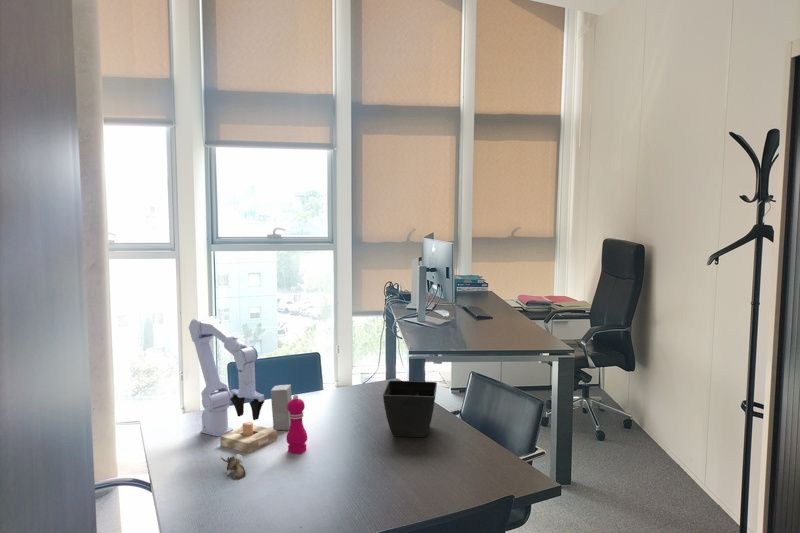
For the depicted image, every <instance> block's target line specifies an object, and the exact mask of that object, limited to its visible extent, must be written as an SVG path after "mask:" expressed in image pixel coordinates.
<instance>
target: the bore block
mask: <svg viewBox="0 0 800 533" xmlns="http://www.w3.org/2000/svg"><path fill="white" fill-rule="evenodd" d="M219 437H220V438H219V439H220V446H221V447H225V448H229V449H232V450H235V451H240V452H244V453H246V454H251V453H253V452H255V451H257V450H259V449H261V448H262V447H265V446H267V445H269V444H271V443H272V442H273V443H274V442H275V441H277V440H278V430H274V428H273V429H272V428H269V427H264V426H260V425H256V424H253V435H252V436H249V437H248V436H244V435H243V425H242V426H240V427H238V428H235V429H233V430H232V431H230V432H227V433H225V434H223V435H220V436H219ZM276 439H277V440H276ZM274 440H275V441H274ZM270 442H271V443H270Z"/></svg>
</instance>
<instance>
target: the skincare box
mask: <svg viewBox="0 0 800 533" xmlns="http://www.w3.org/2000/svg"><path fill="white" fill-rule="evenodd" d="M292 399H293V396H292V385H291V384H277V385H274V386H273V387H272V388H271V390H270V400H271V401H270V402H271V412H272V426H273V430H277V431H279V430H280V431H289V428H290V422H291V421H290V418H289V413H290V412H289V411H288V409H287V405H288V402H289V401H290V400H292Z"/></svg>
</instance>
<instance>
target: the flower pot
mask: <svg viewBox="0 0 800 533" xmlns="http://www.w3.org/2000/svg"><path fill="white" fill-rule="evenodd" d="M437 386H438V383H437V382H436V381H420V380H418V381H415V380H413V381H411V380H389V381H388V382H387V384H386V387H385V389H384V391H383V394H382V398H383V404H384V411H385V417H386V420H387V424H388V427H389V430H390V433H391V435H392V436H393V437H404V438H407V437H409V438H427V436H428V433H429V430H430V427H431V423H432V418H433V414H434V408H435V402H436V401H435V400H436V394H437V393H436V392H437Z"/></svg>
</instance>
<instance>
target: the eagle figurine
mask: <svg viewBox="0 0 800 533" xmlns="http://www.w3.org/2000/svg"><path fill="white" fill-rule="evenodd" d="M220 459H221V460H222V461H223V462H225V463H226V464H227V465H226V472H227V474H226V476H229V475H230V474H231V473H232V472H233V476H232V480H234V481H240V480H242V479H244V477H246V469H245V467H244V466H243V465H242V464H241V463H243V461H244V460H243V456H242V455H241V454H239V453H237V454H236V455H235V456H230V457H229V456H228V457H227V459H226V458H224V457H222V456H221V457H220Z"/></svg>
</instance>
